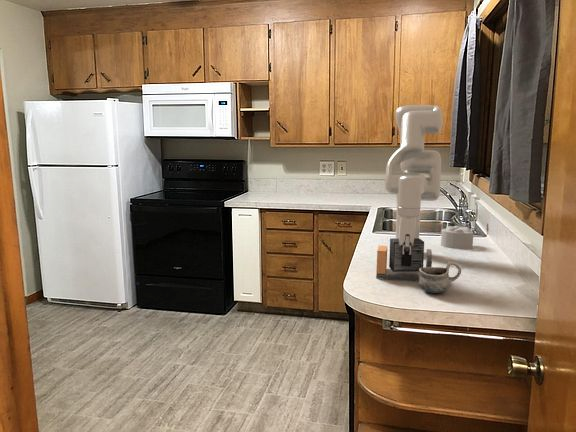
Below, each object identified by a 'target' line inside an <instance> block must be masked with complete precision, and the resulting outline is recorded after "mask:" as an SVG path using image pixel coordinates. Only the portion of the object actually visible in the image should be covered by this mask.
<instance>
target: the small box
mask: <svg viewBox="0 0 576 432" xmlns="http://www.w3.org/2000/svg"><path fill="white" fill-rule="evenodd" d="M405 239H406V238H405ZM409 239H410V238H409ZM411 244H412V243H411ZM404 245H405V242H404ZM409 245H410V244H409ZM409 249H410V248H409ZM402 253H403V245H400V246H399V238H396V237H395V238H394V237H393V238H389V260H388V261H389V262H388V267H389V269H391V270H392V271H393V272H418V271H419V269H420V268H423V267H424V260H425V259H424V258H425V257H424V256H425V255H424V254H425V240H423V239H421V238H420V237H419V238H414V244H413V246H412V247H411V255H412V256H411V266H402V265H401V259H402Z"/></svg>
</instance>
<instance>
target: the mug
mask: <svg viewBox="0 0 576 432" xmlns="http://www.w3.org/2000/svg"><path fill="white" fill-rule="evenodd" d="M451 266H454V267H456V268H457V270H458V272H457V274H456V275H455V276H452V277H451V276H449V273H450V268H451ZM419 272H420V278H419V286H420V288H422V290H424V291H425V292H427V293H431V294H443V293H444V292H446V291H447V290H448V289H449V288H450V286H451V283H453V282H455V281H456V280H458V278H459V277H460V276H461V274H462V267H461V265H460V264H459V263H458V262H456V261H449V262H448V263H447V265H446V267H439V266H438V267H437V266H436V267H435V266H432V267H426V266H423V268H420V269H419Z"/></svg>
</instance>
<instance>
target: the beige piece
mask: <svg viewBox="0 0 576 432" xmlns="http://www.w3.org/2000/svg"><path fill="white" fill-rule="evenodd" d="M473 242H474V231H473V230H472V229H470V227H467V226H460V225H455V226H452V225H449V226H447V227H446V228H442V229H441V236H440V246H441V247H443V248H446V249H448V248H449V249H452V250H453V249H456V250H472V249H473V248H474V247H473Z"/></svg>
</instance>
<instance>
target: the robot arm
mask: <svg viewBox="0 0 576 432" xmlns="http://www.w3.org/2000/svg"><path fill="white" fill-rule="evenodd" d="M443 121H444V118H443V113H442V108H441V106H439V105H436V104H435V105H434V104H433V105H432V104H430V105H429V104H427V105H426V104H423V105H419V104H417V105H416V104H415V105H414V104H413V105H411V104H409V105H402V106H399V107H398V108H397V109H396V110H395V122H396V123H395V124H396V126H397V129H398V131H399V136H400V139H399V140H400V141H399V148H398V149H397V150H395V152H394V153H393V154H392V155H391V156H390V158H389V159H388V161H387V164H386V168H385V179H384V187H385V188H384V189H385V190H386V193H388V194H391V195H392V194H393V195H395V197H396V217H395V218H396V219H395V221H396V222H395V238H399V246H400V245H403V253H402V259H401V265H402V266H411V256H412V255H411V247H412V246H413V244H414V238H420V226H421V205H422V204H421V202H422V201H423V202H425V201H426V202H428V201H429V202H434V201H435V202H436V201H437V200H438V199H439V197H440V193H441V175H442V156H441V154H440V152H439V151H437V150H434V149H433V150H432V149H425V134H426V135H429V134H430V135H432V134H433V135H437V134H439V133H441V131H442V128H443ZM399 164H400V169H401V171H402V172H394V171H395V168H396V167H397V166H398V165H399ZM425 175H428V176H429V177H428V176H427V177H426V176H425ZM405 238H406V239H405ZM409 238H410V239H409ZM404 242H405V245H404ZM411 243H412V244H411ZM409 244H410V245H409ZM409 248H410V249H409Z"/></svg>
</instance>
